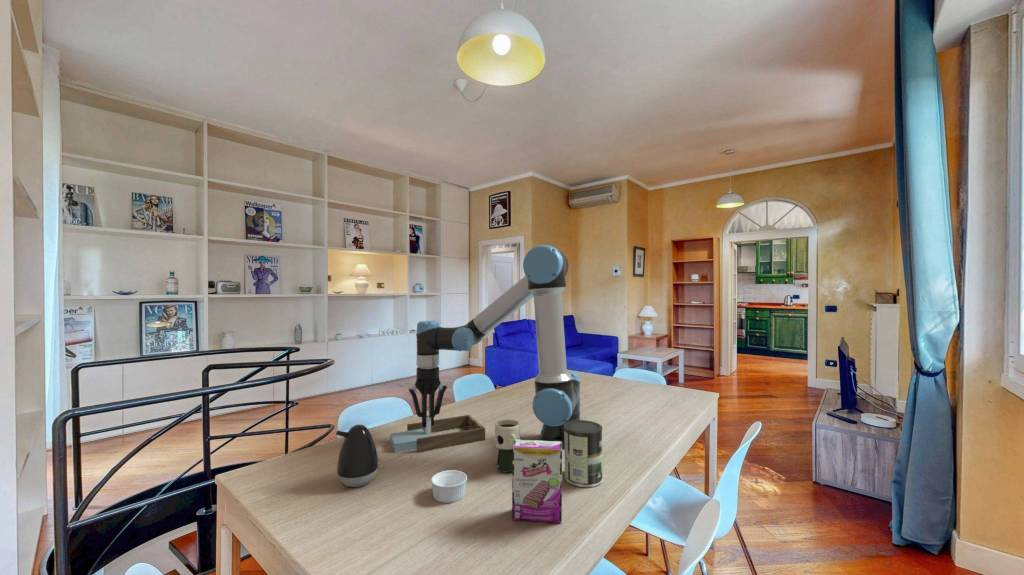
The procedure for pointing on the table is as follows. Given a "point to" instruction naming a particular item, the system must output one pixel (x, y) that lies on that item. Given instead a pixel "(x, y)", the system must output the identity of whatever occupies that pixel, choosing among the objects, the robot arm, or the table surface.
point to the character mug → (506, 442)
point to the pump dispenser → (357, 457)
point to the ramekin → (449, 486)
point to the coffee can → (583, 453)
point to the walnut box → (451, 438)
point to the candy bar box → (537, 481)
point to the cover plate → (406, 439)
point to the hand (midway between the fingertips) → (427, 435)
